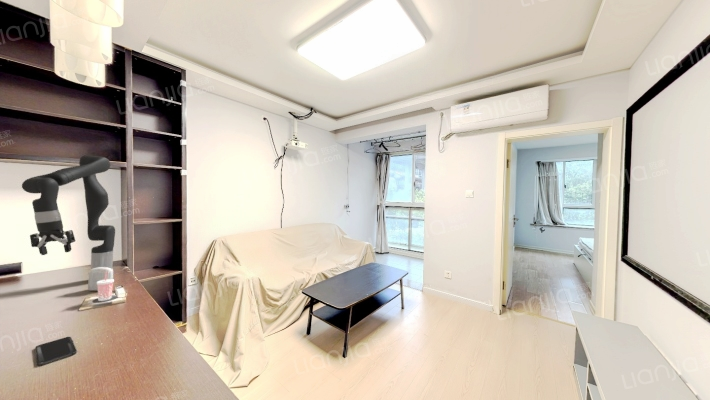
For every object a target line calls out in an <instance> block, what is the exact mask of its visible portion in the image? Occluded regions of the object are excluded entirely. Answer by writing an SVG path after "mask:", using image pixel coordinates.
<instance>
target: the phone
mask: <svg viewBox="0 0 710 400" xmlns="http://www.w3.org/2000/svg"><path fill="white" fill-rule="evenodd" d="M34 349H35V350H34V351H35V356H36V363H37V366H38V367H42V366H45V365H49V364H51V363H54V362H58V361H60V360H64V359H66V358H69V357H71V356H74V355H76V354H77V348H76V346H75V344H74V341H73V339H72V336H66V337H62V338H59V339H58V338H57V339H55V340H52V341H48V342H45V343H41V344H39V345H36V346H35V347H34Z"/></svg>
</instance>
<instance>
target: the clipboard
mask: <svg viewBox="0 0 710 400" xmlns="http://www.w3.org/2000/svg"><path fill="white" fill-rule="evenodd" d="M125 291H126V292H127V293H126V296H125V297H117V296H116V295H115V293H114V292H112V297H111V299H109V300H105V301H98V294H97V295H90V296H86V298H85V299H84V301H83V302H82V304H81V306H80V307H79V309H78V312H81V311H86V310H92V309H98V308H99V309H100V308H102V307H104V308H105V307H107V306H114V305H120V304H125V303H126V301H127V296H128V292H129V290H125ZM125 300H126V301H125Z"/></svg>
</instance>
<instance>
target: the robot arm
mask: <svg viewBox="0 0 710 400" xmlns="http://www.w3.org/2000/svg"><path fill="white" fill-rule="evenodd" d="M78 162H79V163H78V165H76V166H70V167H64V168H61V169H58V170H55V171H52V172H50V173H46V174H42V175H36V176H32V177H30V178H27V179H25V180H24V181H23V182H22V184H21V188H22V190H23V191H25V192H26V193H29V194H40V197H39V198H36V199H33V200H32V202H31V203H32V209H33V212H34V220H35V225H36V230H37V231H38V232H37V233H32V234H30V235H29V237H30V238H29V239H30V245H31V246H30V247H32V248H37V249H38V252H39V254H40V255H41V256H45V255H48V248H47V246H46V245H47V244H48V243H50V242H57V243H58V242H59V243H61V244H62V245H63V249H64V253H70V252H71V250H72V245H71V244H72V243H74V242H76V238H75V235H74V231H73V230H72V229H71V230H70V229H69V230H66V231H65V230H64V225H63V220H62V214H61V213H60V211H59V207H58V195H59V189H60V187H62V186H65V185H67V184H70V183H72V182H74V181H77V180H79V179H82V181H83V187H84V198H85V204H86V205H85V206H86V213H87V214H86V215H87V231H86V232H87V238H88V239H89V240H90V241H91V242H92V241H93V242H94V241H95V242H97V241H99V242H100V241H103V243H101V244H100V245H97V246H93V247H91V250H90V251H91V253H90V254H91V255H90V270H91V269H93V268H97V267H108V268H111V269H113V265H114V263H113V262H114V247H115V239H116V238H115V237H116V228H115V226H114V225H109V224H107V225H102V224H101V225H100V224H99V221H100V217H101V215H102V214H103V212H105V211H106V209H107V208H108V206H109V204H110V203H109V197H108V196H109V195H108V192H107V190H106V189H105V188H104V186H102V184H101V183H100V182H99V180H98V179H97V175H96V174H101V173H106V172H107V171H109V170H110V168H111V161H110V159H108V157H105V156H99V155H87V154H85V155H84V154H83V155H82V156H81V157H80V158H79V161H78ZM40 238H41V239H40ZM113 270H114V269H113Z"/></svg>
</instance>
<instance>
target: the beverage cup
mask: <svg viewBox="0 0 710 400" xmlns="http://www.w3.org/2000/svg"><path fill="white" fill-rule="evenodd" d="M106 276H107V271H105V280H100V281H98V282H97V285H98V290H97V295H98V301H105V300H109V299H111V297H112V293H113V288H114V282H115V279H114V278H113V279H106Z"/></svg>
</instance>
